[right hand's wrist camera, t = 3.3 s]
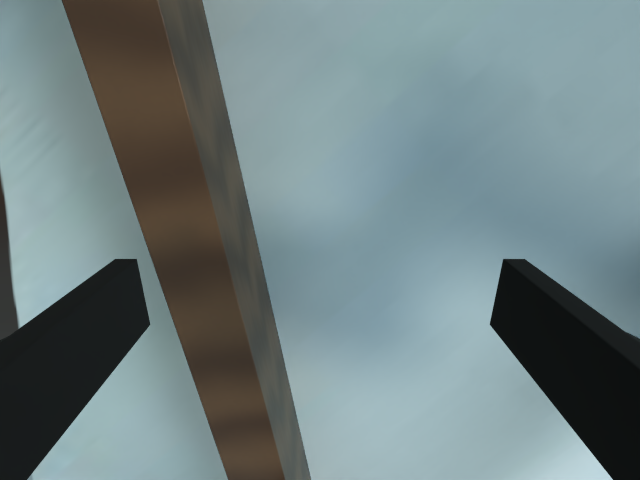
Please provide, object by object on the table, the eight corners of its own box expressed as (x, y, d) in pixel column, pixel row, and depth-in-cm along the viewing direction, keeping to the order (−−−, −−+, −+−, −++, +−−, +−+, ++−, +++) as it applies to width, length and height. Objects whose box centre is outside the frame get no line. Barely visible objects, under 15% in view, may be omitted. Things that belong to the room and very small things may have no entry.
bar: (50, -287, 20) (-130, -548, 12) (132, -307, 20) (1, -591, 12) (292, 556, 47) (285, 644, 39) (327, 553, 47) (328, 642, 39)
